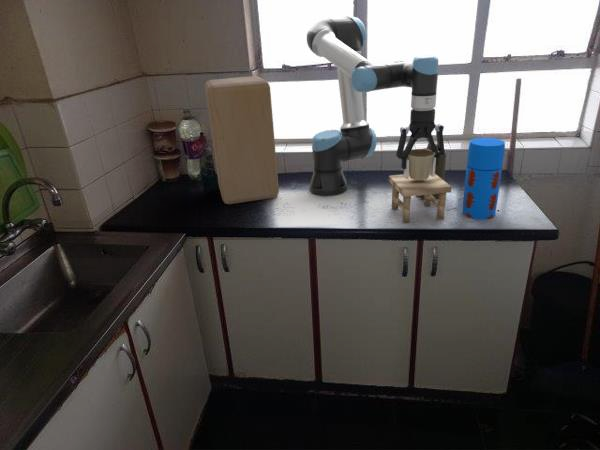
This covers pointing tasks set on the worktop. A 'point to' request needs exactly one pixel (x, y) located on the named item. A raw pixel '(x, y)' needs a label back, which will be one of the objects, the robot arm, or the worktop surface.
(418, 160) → the flower pot
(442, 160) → the canister
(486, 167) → the thermos
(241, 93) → the block
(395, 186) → the footstool
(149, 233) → the worktop surface
